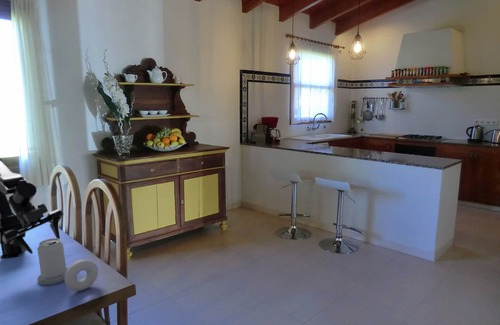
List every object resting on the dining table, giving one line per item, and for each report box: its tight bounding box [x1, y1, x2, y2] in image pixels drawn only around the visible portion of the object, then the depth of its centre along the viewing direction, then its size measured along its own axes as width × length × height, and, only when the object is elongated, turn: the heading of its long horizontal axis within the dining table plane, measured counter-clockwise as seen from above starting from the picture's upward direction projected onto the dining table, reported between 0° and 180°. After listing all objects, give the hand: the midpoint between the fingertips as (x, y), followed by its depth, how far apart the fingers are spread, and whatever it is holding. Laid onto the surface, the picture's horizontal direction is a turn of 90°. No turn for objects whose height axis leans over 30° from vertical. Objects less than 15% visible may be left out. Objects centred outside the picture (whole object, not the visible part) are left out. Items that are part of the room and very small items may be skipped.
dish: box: [37, 267, 69, 287], centre depth 117 cm, size 10×10×1 cm
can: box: [36, 237, 67, 279], centre depth 116 cm, size 8×8×12 cm
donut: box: [64, 258, 99, 292], centre depth 109 cm, size 10×4×10 cm, turn 136°
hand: (46, 246), depth 120 cm, fingers open, 9 cm apart
